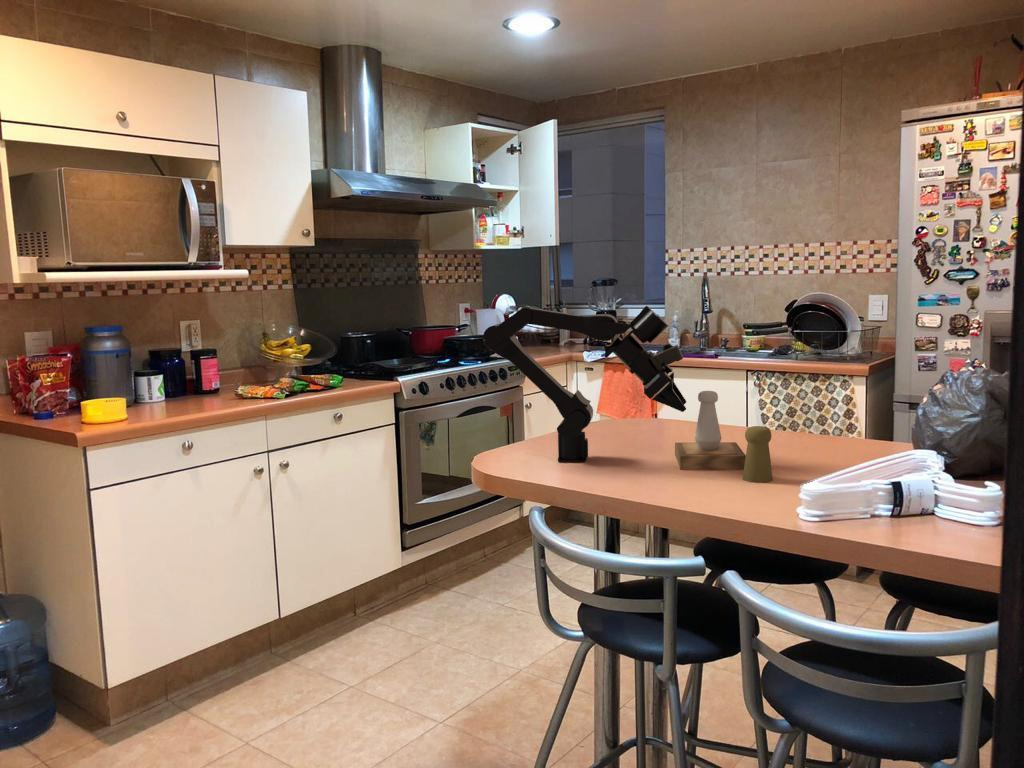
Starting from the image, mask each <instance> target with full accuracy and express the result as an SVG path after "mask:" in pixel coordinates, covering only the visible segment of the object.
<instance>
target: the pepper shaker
mask: <svg viewBox="0 0 1024 768" xmlns="http://www.w3.org/2000/svg"><path fill="white" fill-rule="evenodd" d="M744 437H745V440H746V443H747V446H746V452H745V453H746V454H745V455H746V458H745V465H744V470H743V472H742V474H743V475H742V480H743V481H745V482H749V483H757V484H763V483H771V482H773V481H774V478H773V477H774V476H773V470H772V461H771V453H770V446H769V443H770V441H771V440H772V431H771V429H770V428H769V427H766V426H762V425H755V426H749V427H748V428H746V430H745V432H744Z"/></svg>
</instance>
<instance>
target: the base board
mask: <svg viewBox="0 0 1024 768" xmlns="http://www.w3.org/2000/svg"><path fill="white" fill-rule="evenodd" d="M674 456H675V459H676V462H677V465H678V467H679V470H681V471H683V470H692V471H693V470H694V471H695V470H698V471H699V470H701V471H703V470H704V471H705V470H707V471H709V470H713V471H715V470H724V471H725V470H728V471H729V470H731V471H733V470H739V471H741V470H742V471H744V465H745V458H746V454H745V453H744V451H743V450H742V449H741V447H740V446H739V444H738V443H737V441H735V442H733V441H732V442H731V441H730V442H729V441H728V442H727V441H726V442H721V441H720V443H719V445H718V447H717V449H716V450H701V449H699V448H698V446H697V443H696V442H674Z"/></svg>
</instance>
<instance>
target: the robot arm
mask: <svg viewBox="0 0 1024 768" xmlns="http://www.w3.org/2000/svg"><path fill="white" fill-rule="evenodd" d="M527 325H532V326H537V327H538V326H540V327H544V328H545V327H547V328H552V329H557V330H558V329H559V330H565V331H571V332H576V333H579V334H582V335H584V336H587V337H589V338H591V339H595V340H598V341H601V342H610V341H611V340H613V339H614V338H615V337H616V336H617V335H621V334H625V333H626V332H627V331H628V330H630V329H631V330H630V331H629V332H628V333H627V335H625V336H624V337H622V338H621V336H617V338H616V339H614V340H613V341H612V342H611V343H610V344H605V345H603V348H604V358H606V359H607V358H608V357H610V356H611V354H614V355H615V357H616V358H618V359H619V361H621V362H622V363H623V364H624V366H625V367H627V368H628V369H629V372H630V373H631V374H632V375H633V374H634V376H636V377H637V379H638V380H639V381H640V382H641V383H642V385H643V394H644V395H645V396H646V397H647V398H648V399H649V400H652V401H655V402H657V403H660V404H662V405H665V406H667V407H670V408H672V409H675V410H677V411H679V412H682V413H684V412H685V411H686V410H687V407H686V406H685V405H686V404H687V400H686V398H685V396H683V394H682V391H680V389H679V388H678V386H677V385H676V383H675V379H674V378H675V371H673V370H674V369H673V368H672V367H671V366H670V364H672V363H675V362H679V361H682V360H683V359H684V356H683V354H682V351H681V349H680V347H679V345H678V344H675V345H673V344H671V343H670V342H668V343H666V344H663V346H662V351H659V352H658V353H656V354H654V353H653V352H652V351H651V350H650V351H648V350H647V349H646V348H645V347H644V346H643V345H642V344H645V343H647V342H648V343H649V344H652V343H653V342H654V341H655V340H656V339H657V338H658V337H659V336H661V334H662V333H663V332H664V331H665V330H666V329H667V328H668V327H669V325H668V323H667V322H666V321H665V320H664V319H663V318H662V316H661V315H659V314H658V313H656V312H655V311H654V310H652V308H651V307H649V305H645V306H644V307H643V308H642V310H640V312H639V313H638V314H637V315H636V316H635V317H634V318H633V319H632V320H631V321H628V320H625V321H624V320H620V319H619V320H618V319H617V318H616V316H614V315H612V314H609V313H608V314H607V313H605V314H604V313H603V314H602V313H601V314H574V313H567V312H562V311H556V310H549V309H542V308H541V309H540V308H536V307H532V306H531V305H530V306H529V305H528V306H527V305H526V306H523V307H519V309H518V310H517V311H516V312H514V314H512V315H511V316H509V317H508V318H507V319H505V320H503V321H502V322H500V323H497V324H493V325H491V326H488V327H487V328H486V329H485V330H484V332H483V335H482V342H483V345H484V346H485V347H486V348H488V349H489V350H490V351H492V352H493V353H494V354H495V355H497V356H499V357H501V358H503V359H505V360H507V361H509V362H511V364H513V365H514V367H516V368H517V370H519V371H520V372H521V373H522V374H523V375H524V376H525V377H526V378H527V379H528V380H530V381H531V382H532V383H533V385H535V386H536V387H537V389H539V390H540V391H541V392H542V393H543V394H544V395H545V396H546V397H547V398H549V400H551V402H552V403H553V404H554V406H555V407H556V408H557V411H558V412H559V414H560V415H561V417H562V418H563V419H562V420H561V422H560V423H559V425H558V426H557V428H556V431H557V449H558V453H557V454H558V455H557V457H558V458H557V462H558V463H560V462H561V463H575V462H576V463H579V462H580V463H581V462H583V463H585V462H587V458H589V438H587V437H586V431H584V429H585V428H587V427H588V426H589V425H590V423H591V421H592V419H593V417H594V408H593V406H592V405H591V402H592V401H591V400H589V399H587V398H586V397H585V396H584V395H583V394H582V392H581V391H580V390H579V389H578V390H576V391H575V393H573V392H571V391H570V390H568V389H566V388H565V387H564V386H563V385H562V384H561V383H560V382H558V380H557V379H556V378H554V376H552V374H550V373H549V372H548V371H547V370H546V369H545V368H544V367H543V366H542V365H541V364H539V362H538V361H537V360H535V358H533V357H532V356H531V355H530V354H529V353H528V352H527V350H525V348H524V347H523V346H522V344H521V343H520V340H519V339H518V337H517V335H516V334H517V333H519V332H520V331H522V329H524V328H525V327H527ZM632 334H633V335H634V336H635V337H634V336H632ZM637 339H638V340H639V341H640V342H639V341H638V340H637ZM641 343H642V344H641Z"/></svg>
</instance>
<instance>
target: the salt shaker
mask: <svg viewBox="0 0 1024 768" xmlns="http://www.w3.org/2000/svg"><path fill="white" fill-rule="evenodd" d="M718 395H719V394H718V393H717V392H716V391H714V390H702V391H700V392H698V395H697V400H698V402H700V406H699V411H698V415H697V422H696V427H695V435H694V441H695V443H697V446H698V448H699V449H701V450H716V449H717V447H718V445H719V443H720V442H721V441H722V434H721V430H720V424H719V418H718V414H717V409H716V402H718V400H719V396H718Z"/></svg>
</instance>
